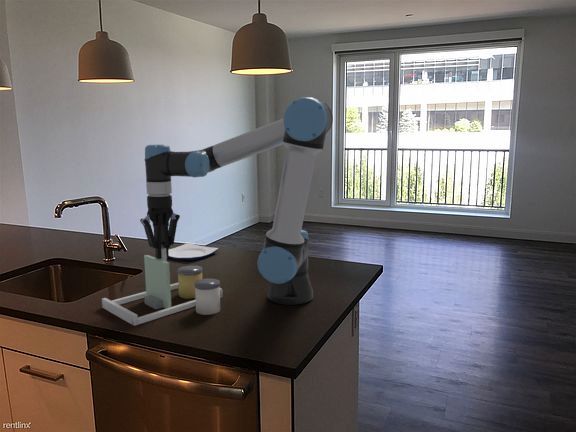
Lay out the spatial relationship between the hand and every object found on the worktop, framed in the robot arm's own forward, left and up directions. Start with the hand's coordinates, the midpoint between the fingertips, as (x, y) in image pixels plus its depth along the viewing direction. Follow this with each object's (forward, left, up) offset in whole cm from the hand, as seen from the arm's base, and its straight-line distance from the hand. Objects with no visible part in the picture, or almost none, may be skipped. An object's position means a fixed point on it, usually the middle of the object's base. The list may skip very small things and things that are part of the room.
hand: (162, 267), depth 154 cm
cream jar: (-16, -6, -12) cm, 20 cm away
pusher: (0, +3, -12) cm, 12 cm away
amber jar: (0, -10, -12) cm, 15 cm away
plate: (+43, -39, -12) cm, 59 cm away
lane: (0, 0, -12) cm, 12 cm away
